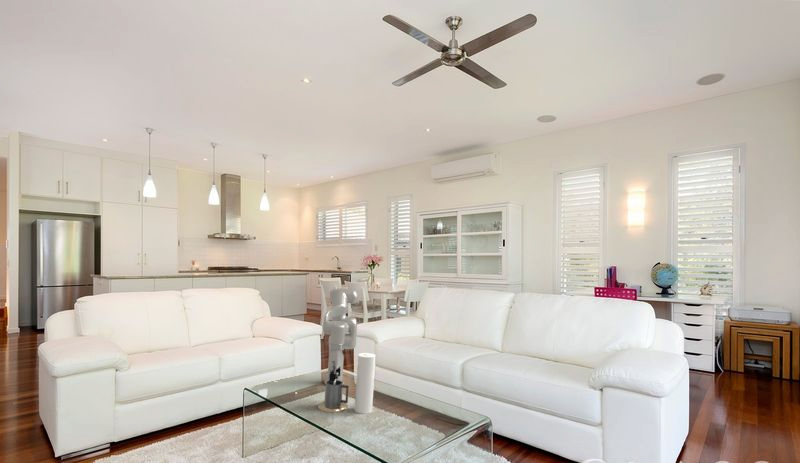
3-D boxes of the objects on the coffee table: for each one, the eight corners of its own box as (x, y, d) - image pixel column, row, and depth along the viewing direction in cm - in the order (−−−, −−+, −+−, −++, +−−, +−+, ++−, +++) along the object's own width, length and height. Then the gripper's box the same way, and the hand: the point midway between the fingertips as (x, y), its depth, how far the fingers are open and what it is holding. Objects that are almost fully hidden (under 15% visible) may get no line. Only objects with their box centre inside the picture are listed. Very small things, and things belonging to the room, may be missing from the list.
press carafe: (323, 400, 238) (324, 376, 239) (350, 403, 236) (352, 379, 237) (313, 410, 222) (315, 385, 223) (343, 413, 220) (344, 388, 221)
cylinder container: (369, 414, 222) (373, 357, 223) (352, 412, 223) (356, 355, 225) (373, 408, 231) (377, 353, 232) (357, 406, 233) (361, 351, 234)
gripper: (334, 342, 240) (332, 373, 239) (325, 349, 223) (323, 382, 222) (347, 344, 239) (345, 374, 238) (339, 350, 222) (337, 383, 221)
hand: (334, 378), depth 230 cm, fingers open, 9 cm apart
